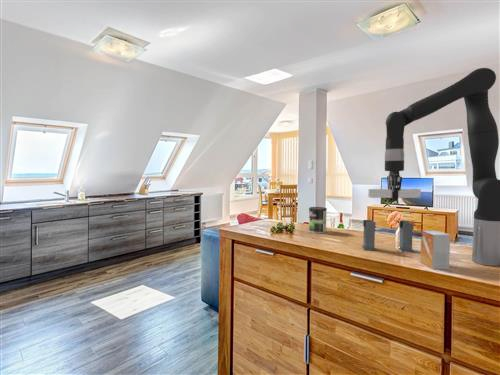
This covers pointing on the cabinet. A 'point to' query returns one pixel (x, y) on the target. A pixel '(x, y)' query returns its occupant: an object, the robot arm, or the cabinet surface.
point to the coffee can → (317, 219)
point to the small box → (435, 249)
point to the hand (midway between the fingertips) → (393, 199)
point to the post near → (406, 236)
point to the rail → (388, 192)
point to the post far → (369, 235)
